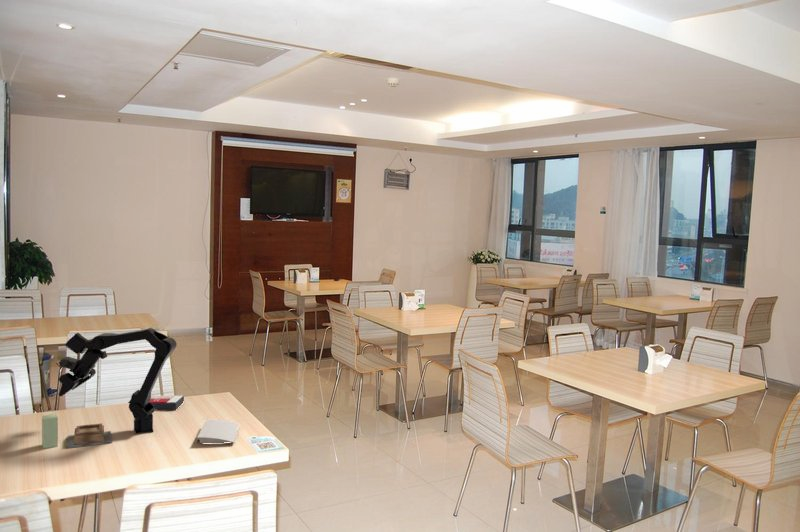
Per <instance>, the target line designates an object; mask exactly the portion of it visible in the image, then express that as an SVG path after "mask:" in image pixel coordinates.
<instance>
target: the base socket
mask: <svg viewBox="0 0 800 532" xmlns="http://www.w3.org/2000/svg"><path fill="white" fill-rule="evenodd" d="M112 443H113V442H112V431H111V430H109V431H108V430H107V431H105V425H104V424H103V423H102V422H101V423H94V424H93V423H92V424H84V425H76V427H75V428H74V433H73V435H72V434H71V435H67V438H66V446H65V448H66V449H72V448H80V447H88V446H89V447H90V446H91V447H92V446H97V445H105V444H112Z"/></svg>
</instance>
